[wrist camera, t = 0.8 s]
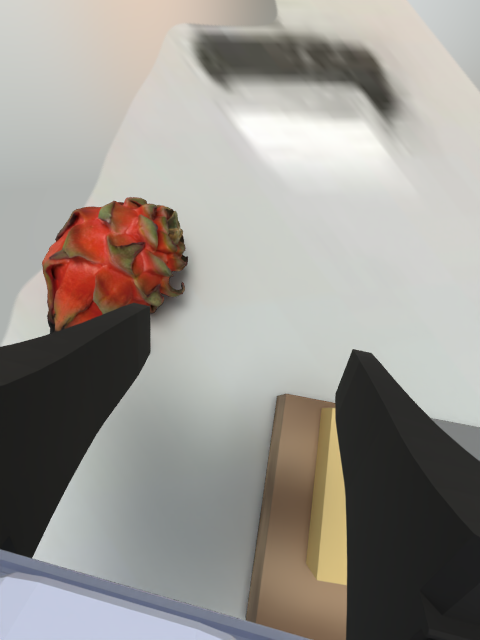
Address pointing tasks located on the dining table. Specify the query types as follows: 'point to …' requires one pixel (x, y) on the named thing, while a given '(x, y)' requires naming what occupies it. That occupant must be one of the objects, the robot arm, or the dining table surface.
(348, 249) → the dining table surface
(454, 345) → the dining table surface
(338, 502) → the yellow rectangular block
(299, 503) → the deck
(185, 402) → the dining table surface
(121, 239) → the dragon fruit
